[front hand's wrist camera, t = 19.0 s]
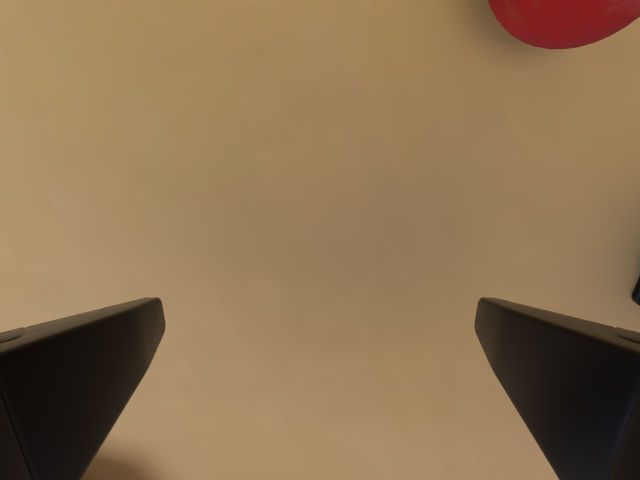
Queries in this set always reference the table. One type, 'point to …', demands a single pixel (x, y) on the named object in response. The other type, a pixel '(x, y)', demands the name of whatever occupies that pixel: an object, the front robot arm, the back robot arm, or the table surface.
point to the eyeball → (564, 20)
